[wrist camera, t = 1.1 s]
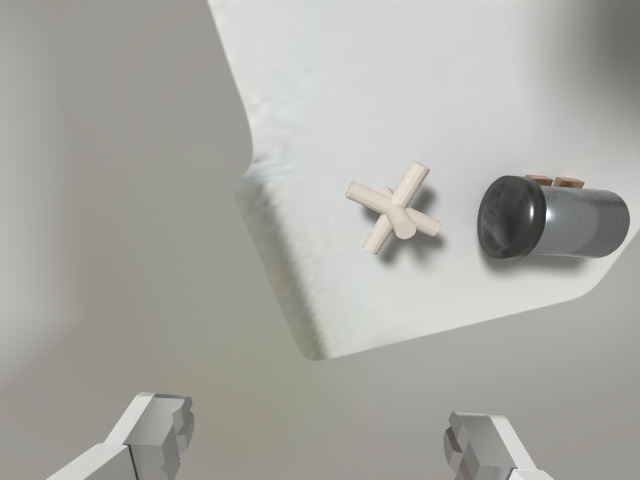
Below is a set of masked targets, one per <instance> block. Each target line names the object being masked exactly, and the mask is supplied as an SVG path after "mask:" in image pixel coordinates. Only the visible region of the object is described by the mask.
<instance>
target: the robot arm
mask: <svg viewBox="0 0 640 480" xmlns="http://www.w3.org/2000/svg"><path fill="white" fill-rule="evenodd" d="M191 406H192V400H191V397H189V396H180V395H170V394H158V393H144V392H141V393H139V394H138V395H137V396H136V397H135V398H134V399H133V401H132V403H131V404H130V405H129V407H128V408H127V410H126V411H125V413H124V414H123V416H122V417H121V418H120V420H119V421H118V423H117V424H116V426H115V427H114V429H113V430H112V432H111V433H110V435H109V436H108V437H107V439H106V440H105V442H104V443H103V444H97V445H95V446H94V447H92V448H91V449H89V450H88V451H86V452H85V453H84V454H82V455H81V456H79V457H78V458H76V459H75V460H74V461H72V462H71V463H69V464H68V465H66V466H65V467H63V468H62V469H61V470H59V471H58V472H56V473H55V474H53V475H52V476H50V477H49V478H48V479H46V480H174V479H175V477H176V474H177V472H178V469H179V467H180V457H179V456H180V455H181V454H182V453H183V452H184V451H185V450H187V448H188V446H189V443H190V440H191V437H192V433H193V430H194V415H193V414H192V413H191V412H190V408H191ZM449 422H450V424H451V427H449V428H448V429H447V430H446V431H445V435H444V450H445V455H446V458H447V461H448V464H449V466H450V467H451V468H452V469H453V470H454V471H455V472H456V473H457V474H456V478H455V480H554V479H553V478H551V477H550V476H549V475H548V474H547V473H545V472H544V471H543V470H537V468H536V466H535V465H534V463H533V461H532V460H531V458H530V456H529V455H528V453H527V451H526V450H525V448H524V446H523V445H522V443H521V441H520V440H519V438H518V437H517V435H516V433H515V432H514V430H513V428H512V427H511V425H510V423H509V422H508V420H507V418H506V417H505V416H503V415H499V414H484V413H469V412H453V413H452V414H451V415H450V418H449Z"/></svg>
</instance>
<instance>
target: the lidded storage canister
mask: <svg viewBox="0 0 640 480" xmlns="http://www.w3.org/2000/svg"><path fill="white" fill-rule="evenodd" d="M552 182H553V180H552V179H550V178H547V177H545V176H536V175H526V177H519V176H503V177H500V178H499V179H497V180H496V181H494V182H493V183H492V184H491V186H490V187H489V188H488V190H487V191H486V193H485V195H484V197H483V199H482V202H481V205H480V209H479V214H478V235H479V239H480V242H481V245H482V247H483V249H484V250H485V252H486V253H487V254H488V255H490V256H491V257H494V258H500V259H520V258H523V257H525V256H526V255H528V254H541V255H555V256H569V257H583V258H601V257H604V256H607V255H609V254H611V253H612V252H614V251H615V250H616V249H617V248H618V247H619V246H620V245H621V244H622V242H623V241H624V239H625V237H626V235H627V233H628V229H629V224H630V216H629V211H628V208H627V206H626V204H625V202H624V201H623V200H622V198H620V197H619V196H618V195H617V194H615V193H613V192H610V191H606V190H594V189H582V187H583V185H584V183H585V182H582V181H580V180H577V179H574V178H561V177H557V178H556V180H555V182H554V185H553V186H551V184H552Z"/></svg>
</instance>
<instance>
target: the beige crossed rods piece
mask: <svg viewBox="0 0 640 480" xmlns="http://www.w3.org/2000/svg"><path fill="white" fill-rule="evenodd" d="M429 171H430V169H429V168H427V167H425V166H424V165H422V164H420V163H418V162H416V161H413V162H412V164H411V165H410V167H409V169H408V170H407V172H406V174H405V175H404V177H403V179H402V180H401V182H400V184H399V185H398V187H397V189H396V190H395V192H394V193H393V192H392V190H391V189H390V188H389V187H382V188H380V189H379V190H378V191H377V192H376V191H374V190H372V189H370V188H368V187H366V186H364V185H362V184H359V183H357V182H355V181H352V182H351V184H350V186H349V187H348V190H347V192H346V198H348V199H350V200H353V201H355V202H357V203H359V204H361V205H364V206H366V207H368V208H370V209H372V210H375V211H377V212H379V213H381V216H380V217H379V219H378V221H377V222H376V224H375V226H374V227H373V229H372V231H371V232H370V234H369V236H368V237H367V239H366V241H365V242H364V244H363V248H364V249H365V250H366V251H367V252H369V253H371V254H374V255H376V254H378V252H379V251H380V249H381V247H382V246H383V244H384V243H385V241H386V239H387V238H388V236H389V235H390V233H391V231H392V230H394V232H395V233H396V235H397V236H398V237H399V238H401V239H408V238H411V237H412V236H413V235H414V234H415V232H416V230H418V231H420V232H423V233H425V234H427V235H429V236H431V237H432V236H435V235H436V234H437V233H438V231H439V229H440V225H441V223H440V221H438V220H436V219H434V218H432V217H429V216H427V215H425V214H423V213H421V212H419V211H417V210H415V209H412V208H410V207H408V204H409V203H410V201H411V200H412V198H413V196H414V195H415V193H416V192H417V190H418V188H419V187H420V185H421V184H422V182H423V180H424V179H425V177H426V176H427V174H428V172H429Z"/></svg>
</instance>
